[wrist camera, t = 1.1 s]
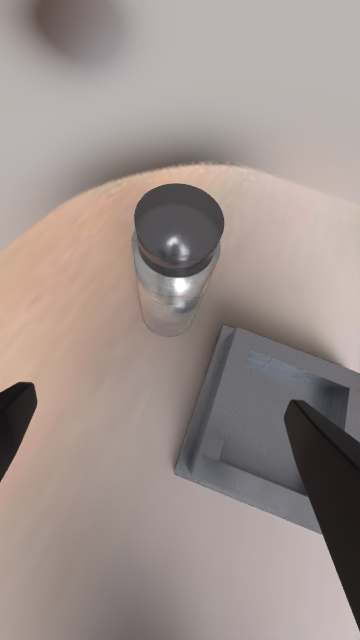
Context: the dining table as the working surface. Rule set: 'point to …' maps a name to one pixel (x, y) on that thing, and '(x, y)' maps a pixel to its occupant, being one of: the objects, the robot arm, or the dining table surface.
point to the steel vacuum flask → (175, 254)
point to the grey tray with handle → (262, 421)
